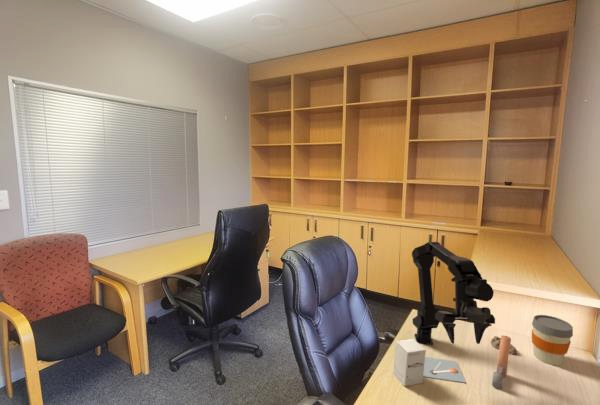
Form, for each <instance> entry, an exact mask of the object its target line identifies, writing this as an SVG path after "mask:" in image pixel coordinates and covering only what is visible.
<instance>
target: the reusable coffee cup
mask: <svg viewBox="0 0 600 405" xmlns="http://www.w3.org/2000/svg"><path fill="white" fill-rule="evenodd" d="M531 325H532V329H531V343H532V345H533V346H532V348H533V349H532V350H533V356H534V357H535V358H536V359H537V360H538V361H541V362H542V363H544V364H547V365H551V366H561V365H562V363H563V360H564V359H565V355H566V354H568V351H569V349H570V345H571V342H572V340H571V338H572V337H573V336H574V335H573V334H574V327H573V325H571V323H569V322H568V321H565V320H564V319H561V318H558V317H555V316H552V315H545V314H537V315H534V316H533V319H532V321H531Z"/></svg>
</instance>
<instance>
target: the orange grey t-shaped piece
mask: <svg viewBox="0 0 600 405" xmlns="http://www.w3.org/2000/svg"><path fill="white" fill-rule="evenodd" d="M500 338H501V340H500V348H499V350H498V358H497V367H496V371H494V372H493V375H492V381H491V384H492V386H493V387H494V388H495V389H498V390H500V389H502V386H503V380H504V379H503V378H506V377H507V372H508V365H509V359H510V354H509V351H510V344H512V343H511V341H512V338H511V337H509V336H508V335H501V336H500Z"/></svg>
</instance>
